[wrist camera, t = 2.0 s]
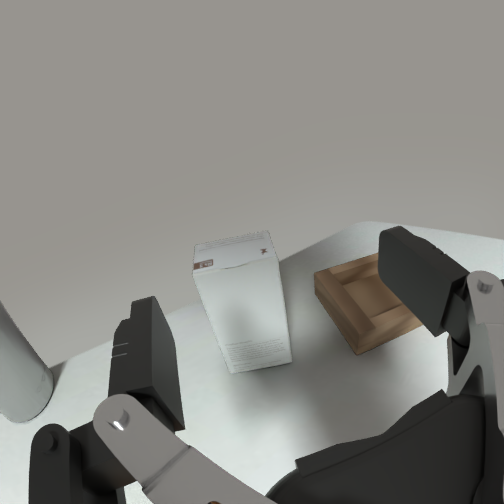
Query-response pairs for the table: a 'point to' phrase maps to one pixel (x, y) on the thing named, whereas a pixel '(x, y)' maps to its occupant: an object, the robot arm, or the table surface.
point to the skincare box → (244, 300)
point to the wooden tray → (363, 304)
